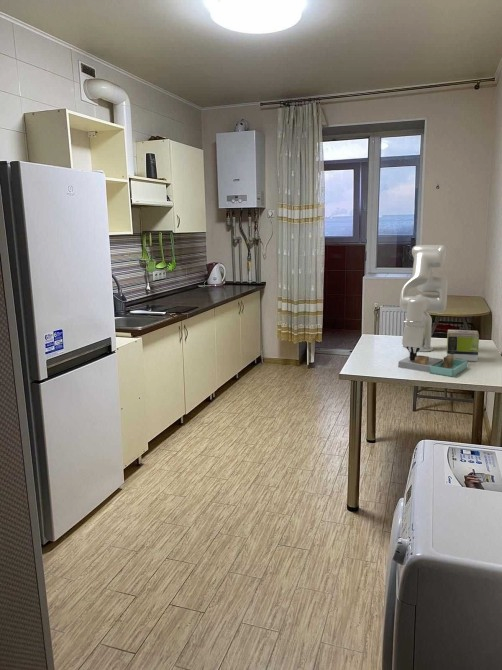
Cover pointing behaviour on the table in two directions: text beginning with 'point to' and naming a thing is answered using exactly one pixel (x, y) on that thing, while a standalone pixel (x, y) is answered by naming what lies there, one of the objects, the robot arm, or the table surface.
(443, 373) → the tray
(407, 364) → the board
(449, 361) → the brown angular block
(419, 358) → the wooden block
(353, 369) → the table surface
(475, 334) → the tea box
